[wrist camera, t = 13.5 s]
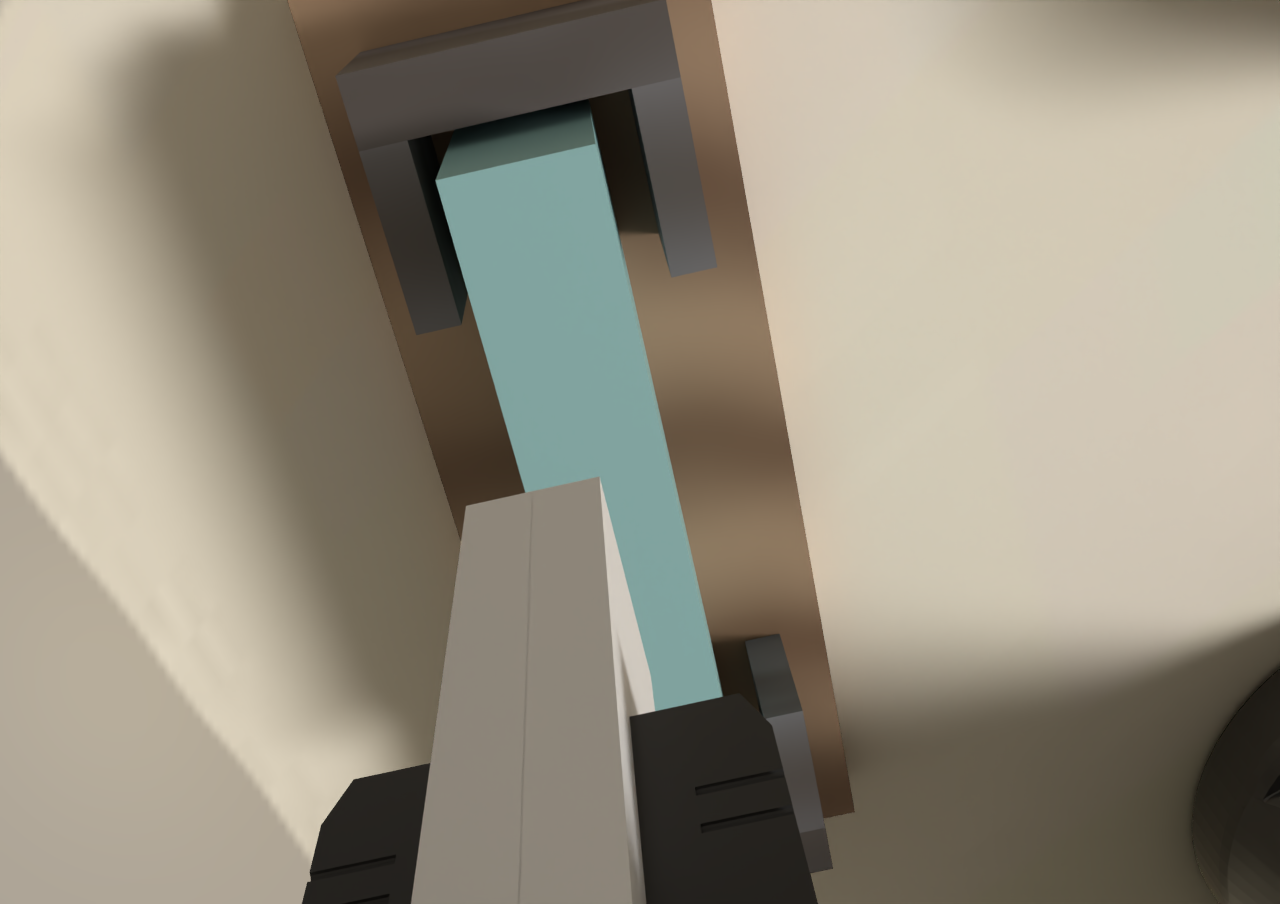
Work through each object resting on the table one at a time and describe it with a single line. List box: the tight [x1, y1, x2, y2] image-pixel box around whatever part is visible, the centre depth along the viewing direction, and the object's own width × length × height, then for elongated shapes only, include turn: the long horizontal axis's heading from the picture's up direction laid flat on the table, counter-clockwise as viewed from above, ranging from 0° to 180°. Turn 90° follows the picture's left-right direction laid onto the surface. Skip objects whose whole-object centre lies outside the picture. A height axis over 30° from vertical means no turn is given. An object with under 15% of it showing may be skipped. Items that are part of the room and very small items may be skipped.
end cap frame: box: [287, 0, 855, 873], centre depth 31 cm, size 26×9×5 cm, turn 12°
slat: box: [436, 99, 724, 711], centre depth 29 cm, size 18×3×6 cm, turn 12°
